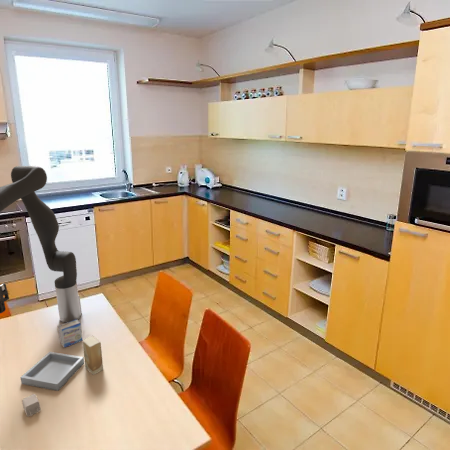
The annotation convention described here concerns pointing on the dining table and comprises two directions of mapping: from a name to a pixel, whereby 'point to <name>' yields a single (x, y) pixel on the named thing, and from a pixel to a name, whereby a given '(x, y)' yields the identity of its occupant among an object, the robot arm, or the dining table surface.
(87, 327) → the dining table surface
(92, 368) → the skincare box
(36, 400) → the usb wall charger
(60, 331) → the medicine box
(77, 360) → the tray
